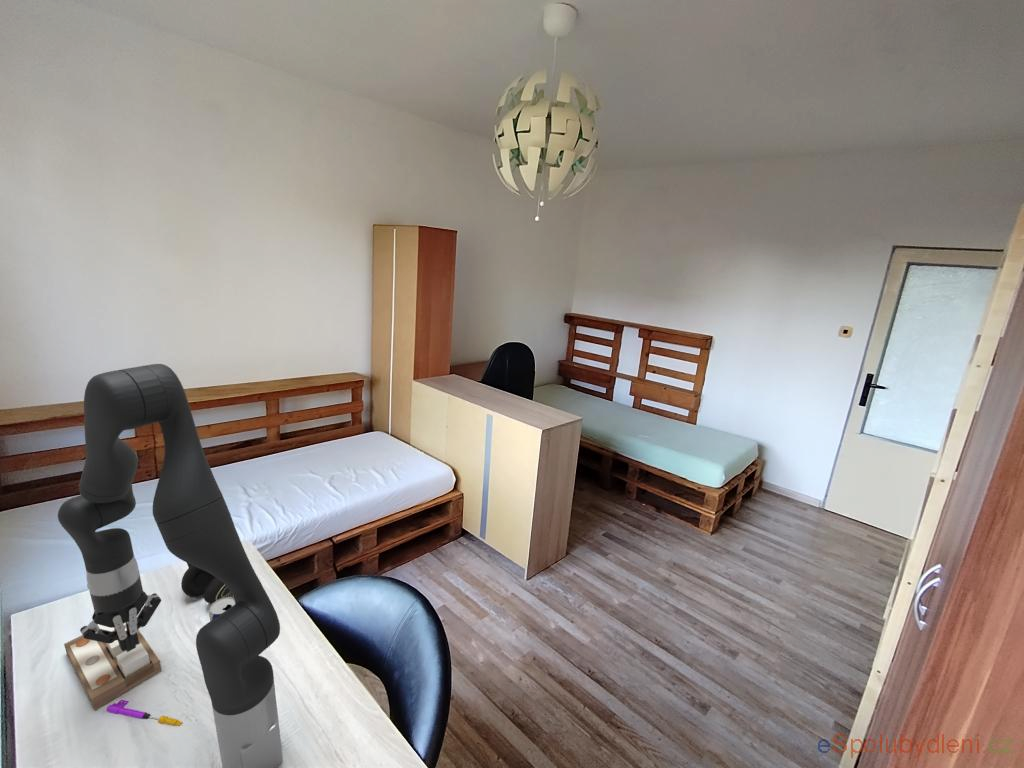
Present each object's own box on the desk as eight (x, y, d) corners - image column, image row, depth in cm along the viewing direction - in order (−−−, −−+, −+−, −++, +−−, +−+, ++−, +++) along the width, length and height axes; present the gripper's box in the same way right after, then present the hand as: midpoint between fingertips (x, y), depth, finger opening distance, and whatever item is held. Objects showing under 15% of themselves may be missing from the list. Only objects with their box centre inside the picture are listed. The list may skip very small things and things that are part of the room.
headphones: (205, 577, 122) (195, 515, 116) (248, 591, 119) (240, 528, 113) (174, 599, 114) (162, 533, 109) (220, 615, 111) (209, 548, 105)
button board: (161, 670, 96) (159, 658, 95) (94, 710, 87) (91, 697, 86) (129, 623, 107) (126, 611, 106) (66, 654, 98) (63, 642, 97)
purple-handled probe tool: (104, 712, 87) (178, 729, 86) (105, 707, 87) (178, 723, 86) (118, 702, 90) (189, 718, 88) (118, 697, 90) (190, 712, 88)
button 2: (150, 664, 95) (148, 653, 94) (125, 678, 91) (122, 667, 91) (143, 653, 97) (140, 642, 96) (118, 667, 94) (116, 656, 93)
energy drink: (229, 659, 100) (223, 617, 96) (209, 653, 101) (202, 611, 97) (247, 640, 105) (242, 599, 101) (228, 634, 106) (222, 594, 102)
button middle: (138, 646, 98) (136, 635, 98) (114, 659, 95) (111, 648, 94) (131, 636, 101) (129, 626, 100) (108, 648, 97) (105, 638, 96)
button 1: (128, 634, 103) (126, 623, 102) (105, 646, 99) (102, 635, 98) (122, 624, 105) (120, 614, 104) (99, 636, 101) (96, 625, 101)
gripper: (74, 610, 80) (94, 681, 86) (162, 571, 91) (174, 637, 96) (63, 590, 84) (82, 659, 90) (148, 555, 95) (161, 619, 100)
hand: (130, 647), depth 93 cm, fingers closed
